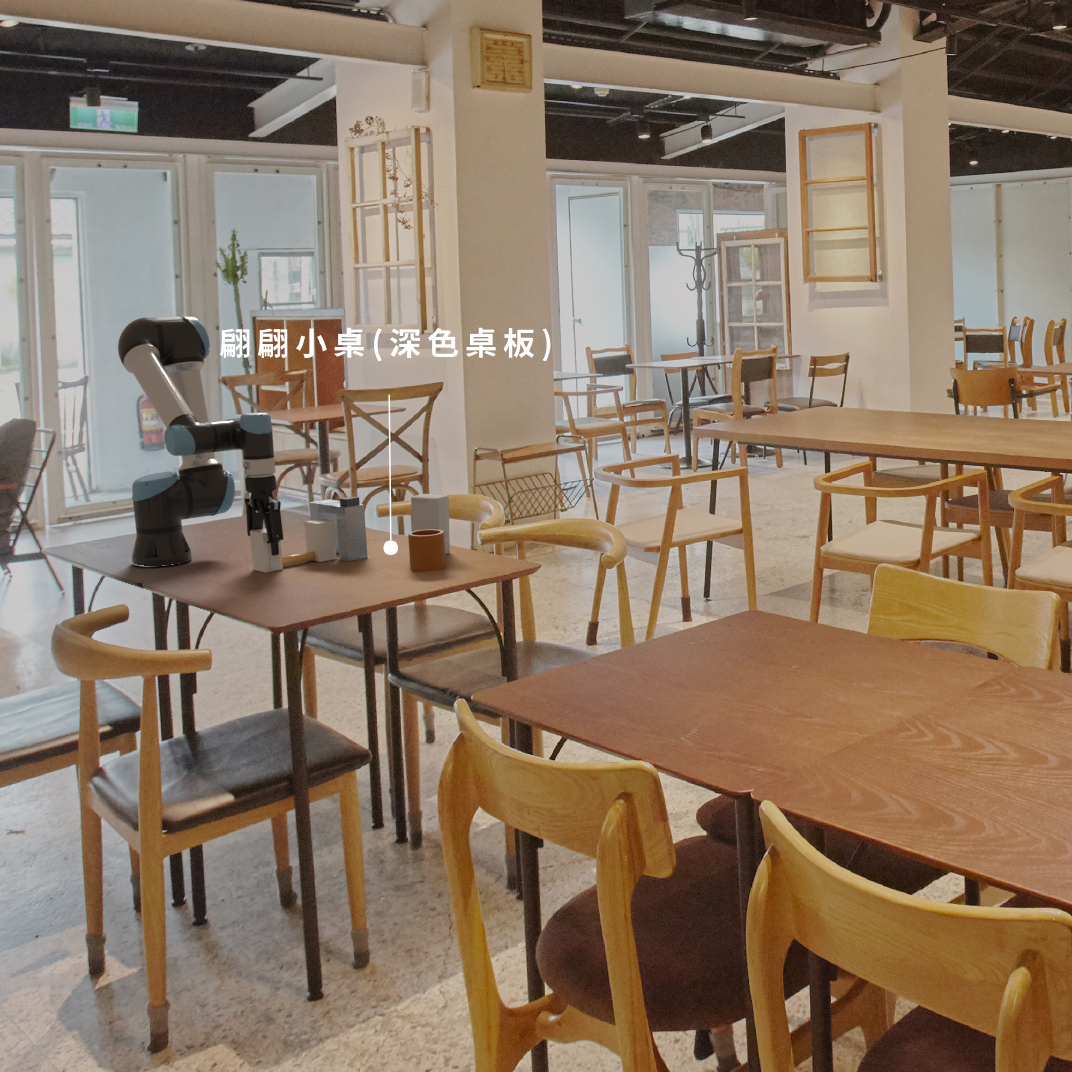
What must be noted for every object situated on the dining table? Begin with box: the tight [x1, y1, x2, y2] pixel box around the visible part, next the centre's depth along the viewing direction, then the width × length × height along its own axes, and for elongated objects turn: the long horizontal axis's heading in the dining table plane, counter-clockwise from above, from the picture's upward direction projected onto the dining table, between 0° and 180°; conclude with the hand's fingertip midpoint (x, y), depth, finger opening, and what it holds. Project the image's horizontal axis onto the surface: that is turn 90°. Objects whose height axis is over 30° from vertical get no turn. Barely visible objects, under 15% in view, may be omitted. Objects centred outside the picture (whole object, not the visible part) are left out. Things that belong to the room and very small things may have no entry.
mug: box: [407, 529, 447, 572], centre depth 302 cm, size 9×12×9 cm
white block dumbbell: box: [249, 519, 337, 574], centre depth 311 cm, size 6×21×10 cm, turn 133°
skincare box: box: [410, 493, 451, 556], centre depth 317 cm, size 8×7×16 cm
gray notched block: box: [309, 496, 369, 562], centre depth 320 cm, size 16×6×16 cm, turn 43°
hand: (267, 565), depth 306 cm, fingers closed on white block dumbbell, 6 cm apart
